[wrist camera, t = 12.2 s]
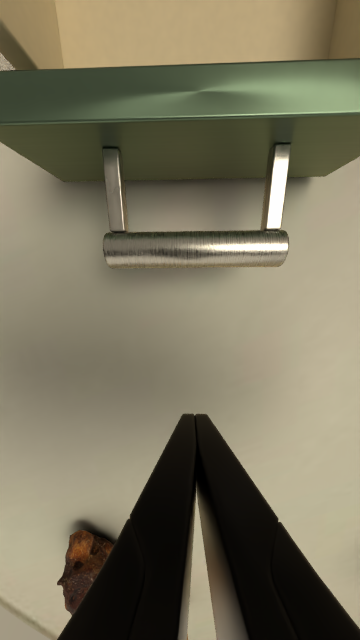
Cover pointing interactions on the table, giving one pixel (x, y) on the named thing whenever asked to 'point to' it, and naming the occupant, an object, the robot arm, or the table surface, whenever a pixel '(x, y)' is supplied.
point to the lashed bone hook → (82, 566)
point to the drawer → (183, 105)
